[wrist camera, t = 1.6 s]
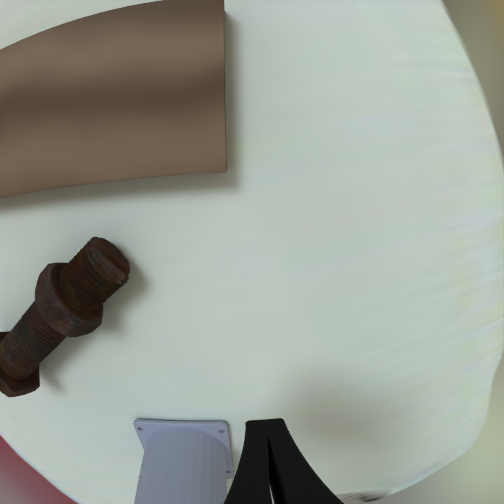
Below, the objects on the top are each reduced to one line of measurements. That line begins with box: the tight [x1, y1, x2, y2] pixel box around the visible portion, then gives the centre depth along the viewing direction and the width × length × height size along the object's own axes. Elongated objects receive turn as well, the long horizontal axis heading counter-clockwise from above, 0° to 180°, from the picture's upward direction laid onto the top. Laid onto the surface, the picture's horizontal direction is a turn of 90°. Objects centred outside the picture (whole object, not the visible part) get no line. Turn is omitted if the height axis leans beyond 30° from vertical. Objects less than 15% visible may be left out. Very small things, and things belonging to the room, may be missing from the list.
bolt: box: [0, 237, 130, 397], centre depth 17 cm, size 6×5×15 cm
